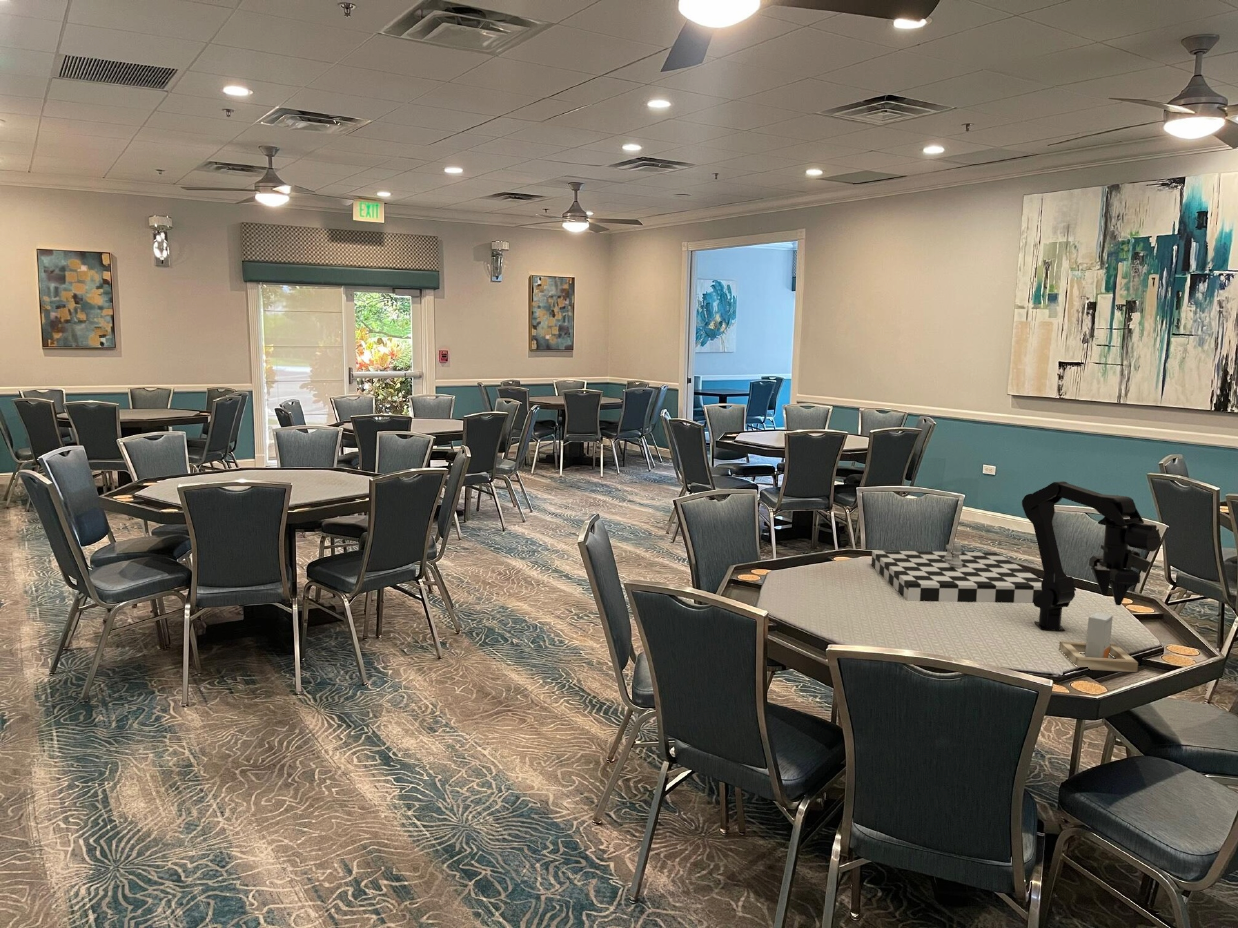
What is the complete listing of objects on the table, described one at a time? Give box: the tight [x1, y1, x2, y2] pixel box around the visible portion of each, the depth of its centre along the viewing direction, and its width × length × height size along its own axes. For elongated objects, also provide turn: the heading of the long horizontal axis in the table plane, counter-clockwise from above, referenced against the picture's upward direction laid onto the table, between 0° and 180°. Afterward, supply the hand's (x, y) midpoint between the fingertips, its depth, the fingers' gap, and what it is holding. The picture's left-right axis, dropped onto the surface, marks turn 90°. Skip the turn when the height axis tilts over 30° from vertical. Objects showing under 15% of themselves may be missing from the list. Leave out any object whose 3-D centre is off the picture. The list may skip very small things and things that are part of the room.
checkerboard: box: [871, 541, 1043, 604], centre depth 307 cm, size 45×45×15 cm
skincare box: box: [1084, 611, 1114, 658], centre depth 234 cm, size 6×4×12 cm
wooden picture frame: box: [1058, 640, 1139, 673], centre depth 234 cm, size 14×14×2 cm
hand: (1111, 600), depth 243 cm, fingers open, 9 cm apart
